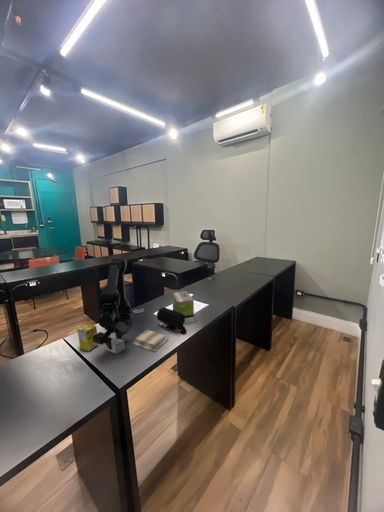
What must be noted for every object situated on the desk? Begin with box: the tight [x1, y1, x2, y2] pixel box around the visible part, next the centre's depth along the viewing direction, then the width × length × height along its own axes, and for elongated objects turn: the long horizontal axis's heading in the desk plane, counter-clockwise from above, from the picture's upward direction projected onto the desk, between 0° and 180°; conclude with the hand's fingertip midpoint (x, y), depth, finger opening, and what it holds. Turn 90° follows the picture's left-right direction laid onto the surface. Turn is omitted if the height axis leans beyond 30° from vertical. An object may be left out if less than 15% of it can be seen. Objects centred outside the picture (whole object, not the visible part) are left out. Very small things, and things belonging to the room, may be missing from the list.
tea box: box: [171, 290, 195, 325], centre depth 130 cm, size 15×10×15 cm, turn 17°
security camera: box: [156, 306, 187, 335], centre depth 119 cm, size 7×18×10 cm, turn 53°
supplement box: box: [77, 323, 99, 353], centre depth 103 cm, size 6×6×11 cm
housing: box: [103, 336, 126, 355], centre depth 103 cm, size 8×5×4 cm, turn 62°
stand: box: [131, 329, 169, 353], centre depth 108 cm, size 14×11×3 cm
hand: (114, 346), depth 103 cm, fingers closed on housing, 5 cm apart
